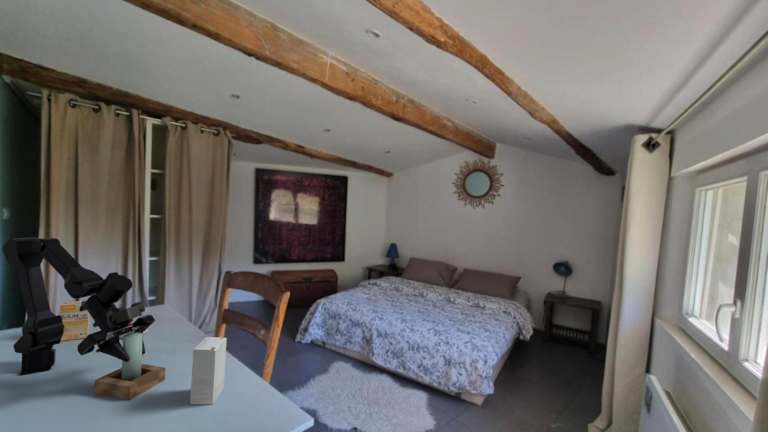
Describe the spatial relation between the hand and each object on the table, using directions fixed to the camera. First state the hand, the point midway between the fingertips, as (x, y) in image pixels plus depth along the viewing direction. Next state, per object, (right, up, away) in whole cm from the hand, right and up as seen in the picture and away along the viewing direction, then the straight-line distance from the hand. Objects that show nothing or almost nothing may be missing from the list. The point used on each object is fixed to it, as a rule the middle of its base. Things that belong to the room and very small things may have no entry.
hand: (136, 357), depth 96 cm
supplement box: (-44, -5, +30) cm, 53 cm away
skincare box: (+21, -10, -3) cm, 23 cm away
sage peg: (-2, -7, 0) cm, 7 cm away
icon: (-29, -6, +37) cm, 47 cm away
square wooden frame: (-2, -8, 0) cm, 8 cm away
